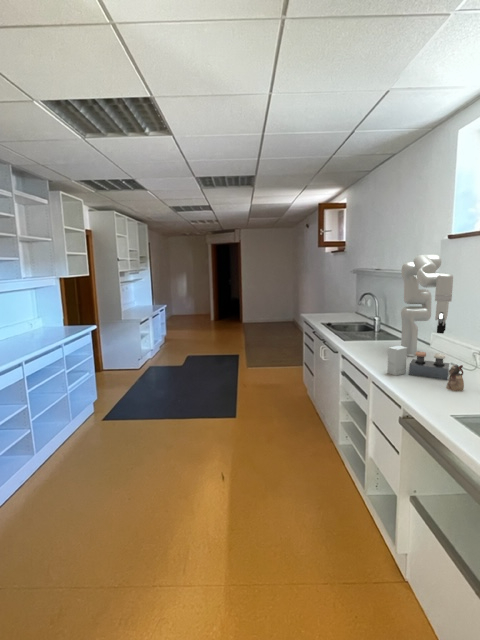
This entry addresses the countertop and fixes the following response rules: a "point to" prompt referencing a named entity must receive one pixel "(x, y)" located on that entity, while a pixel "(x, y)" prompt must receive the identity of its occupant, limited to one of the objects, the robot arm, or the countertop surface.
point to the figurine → (455, 378)
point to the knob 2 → (439, 359)
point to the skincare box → (397, 360)
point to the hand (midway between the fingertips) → (441, 331)
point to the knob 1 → (420, 357)
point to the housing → (429, 370)
